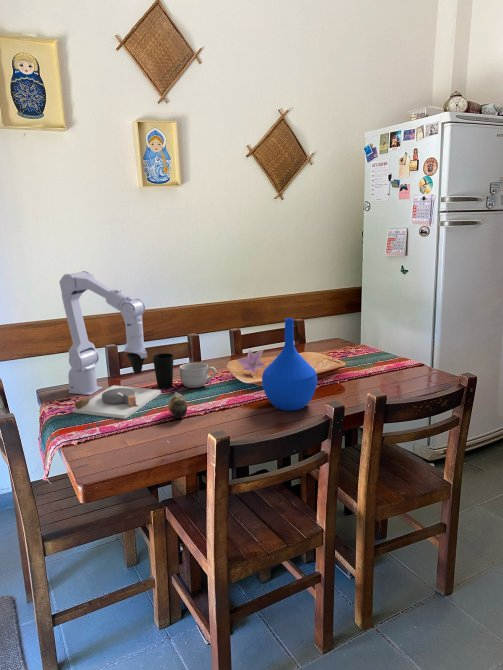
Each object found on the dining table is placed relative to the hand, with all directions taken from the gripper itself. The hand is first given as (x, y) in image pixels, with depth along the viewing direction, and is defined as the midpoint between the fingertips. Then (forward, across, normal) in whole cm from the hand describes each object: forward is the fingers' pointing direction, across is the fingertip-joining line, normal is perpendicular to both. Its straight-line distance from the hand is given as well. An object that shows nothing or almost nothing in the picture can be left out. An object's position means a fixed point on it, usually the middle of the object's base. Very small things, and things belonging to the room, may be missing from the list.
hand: (137, 373), depth 180 cm
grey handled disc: (+8, 0, -6) cm, 11 cm away
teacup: (+10, 0, +24) cm, 26 cm away
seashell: (+10, +22, +4) cm, 24 cm away
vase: (+10, +36, +39) cm, 54 cm away
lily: (+10, 0, +48) cm, 49 cm away
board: (+10, -2, -7) cm, 12 cm away
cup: (+10, -8, +13) cm, 18 cm away
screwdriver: (+9, -4, -17) cm, 20 cm away
